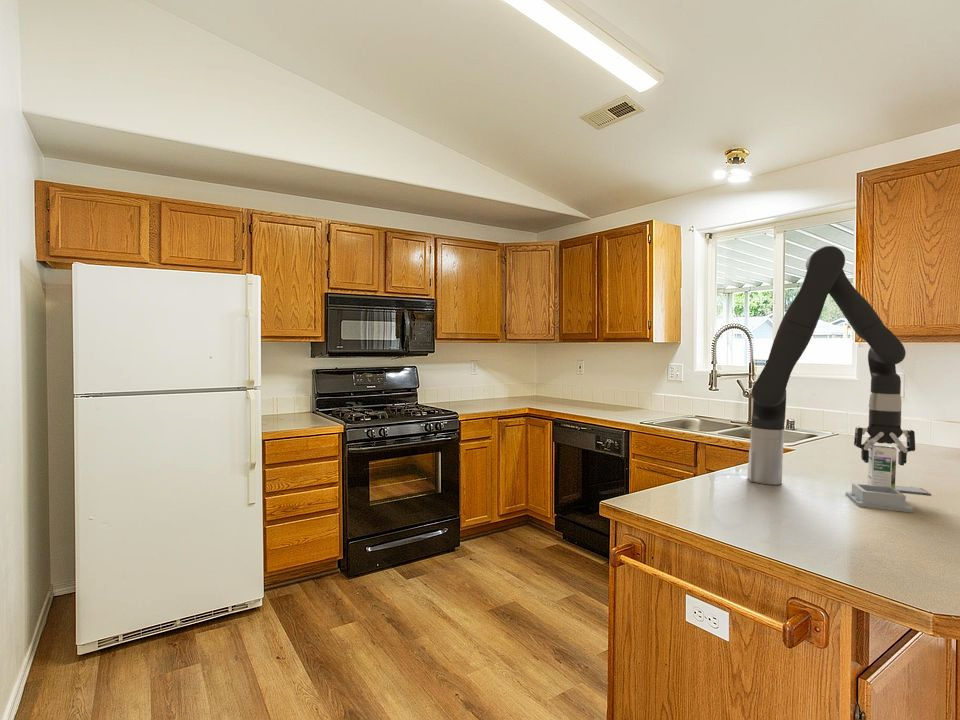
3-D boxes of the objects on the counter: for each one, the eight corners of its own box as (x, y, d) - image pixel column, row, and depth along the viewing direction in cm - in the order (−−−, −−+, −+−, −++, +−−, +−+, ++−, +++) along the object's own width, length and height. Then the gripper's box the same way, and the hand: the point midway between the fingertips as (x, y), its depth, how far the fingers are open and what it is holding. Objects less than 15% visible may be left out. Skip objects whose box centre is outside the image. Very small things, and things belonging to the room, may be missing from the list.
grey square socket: (858, 506, 144) (858, 491, 144) (845, 495, 155) (846, 481, 155) (912, 512, 139) (913, 497, 139) (895, 500, 151) (895, 486, 151)
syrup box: (870, 495, 155) (872, 446, 154) (866, 491, 160) (869, 443, 160) (894, 499, 152) (897, 448, 152) (890, 494, 157) (892, 445, 157)
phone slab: (931, 497, 157) (931, 493, 157) (878, 492, 162) (878, 488, 162) (921, 491, 163) (921, 487, 163) (871, 486, 168) (871, 482, 168)
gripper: (859, 408, 154) (858, 464, 154) (920, 411, 149) (918, 468, 149) (852, 406, 161) (851, 459, 161) (909, 408, 156) (908, 463, 156)
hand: (883, 463), depth 155 cm, fingers open, 8 cm apart
